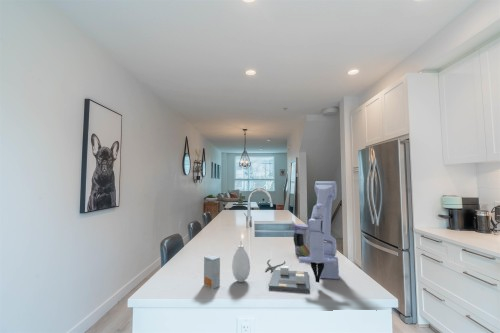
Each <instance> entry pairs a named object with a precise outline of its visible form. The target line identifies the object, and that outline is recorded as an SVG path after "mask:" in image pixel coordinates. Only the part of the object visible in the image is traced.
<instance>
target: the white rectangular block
mask: <svg viewBox="0 0 500 333" xmlns="http://www.w3.org/2000/svg"><path fill="white" fill-rule="evenodd" d="M296 283H297V284H305V282H304V274H298V273H296Z"/></svg>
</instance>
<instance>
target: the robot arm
mask: <svg viewBox="0 0 500 333" xmlns="http://www.w3.org/2000/svg"><path fill="white" fill-rule="evenodd" d="M337 184H338V183H337V182H336V181H335V180H333V181H332V180H331V181H327V180H326V181H323V180H322V181H318V180H316V181H315V183H314V187H313V188H314V193H315V195H316V204H315V205H313V207H312V212H311V216H310V218H309V219H308V220H307V225H308V233H309V236H310V257H307V256H299V257H298V262H299V264H302V263H303V264H310V268H311V269H312V271H313V275H314V278H315V283H320V279H329V280H331V279H333V280H339V279H340V275H339V273H340V269H339V268H340V267H339V257H338V256H336V255H337V253H338V252H337V250H338V249H337V248H338V245H337V240H336V238H335V237H333V236H332V235H331V231H332V230H331V228H332V207H333V201H335V200H336V199H337V195H338V185H337Z"/></svg>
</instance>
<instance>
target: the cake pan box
mask: <svg viewBox="0 0 500 333" xmlns="http://www.w3.org/2000/svg"><path fill="white" fill-rule="evenodd" d="M293 244H294V252H295V254H296V255H300V256H303V257H310V236H309V233H308V224H301V223H297V224H293Z"/></svg>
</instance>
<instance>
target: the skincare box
mask: <svg viewBox="0 0 500 333" xmlns="http://www.w3.org/2000/svg"><path fill="white" fill-rule="evenodd" d="M203 285H204V286H205V287H208V288H209V289H211V290H214V289H216V288H219V287H220V286H221V258H220V257H219V256H216V255H212V254H210V255H205V256H204V257H203Z"/></svg>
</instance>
